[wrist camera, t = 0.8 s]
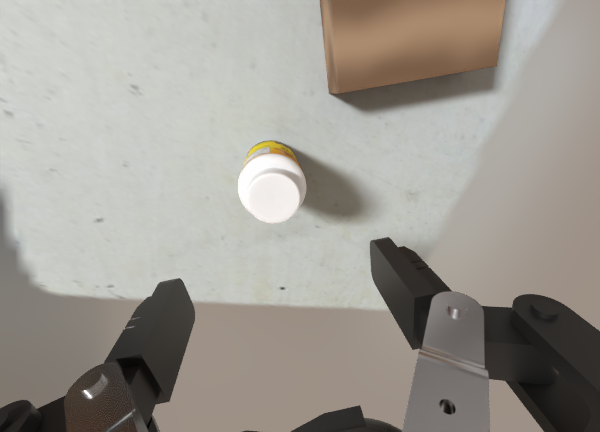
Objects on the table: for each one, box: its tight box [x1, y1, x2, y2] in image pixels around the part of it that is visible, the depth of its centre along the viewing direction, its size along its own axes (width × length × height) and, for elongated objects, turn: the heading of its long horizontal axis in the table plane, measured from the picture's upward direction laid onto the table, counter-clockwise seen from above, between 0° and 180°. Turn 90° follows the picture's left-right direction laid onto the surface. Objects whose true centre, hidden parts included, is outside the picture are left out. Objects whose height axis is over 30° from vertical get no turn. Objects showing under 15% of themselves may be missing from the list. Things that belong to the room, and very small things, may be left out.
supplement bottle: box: [238, 140, 307, 223], centre depth 24 cm, size 6×6×10 cm
